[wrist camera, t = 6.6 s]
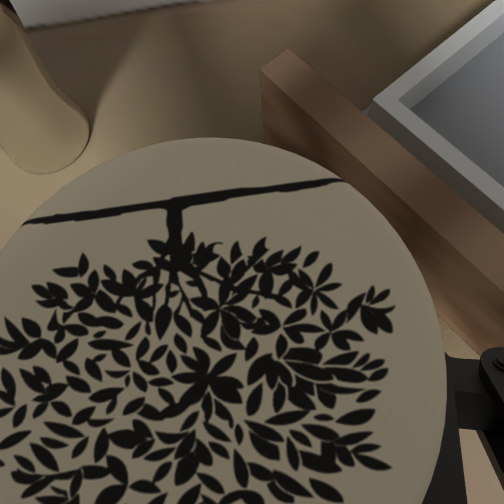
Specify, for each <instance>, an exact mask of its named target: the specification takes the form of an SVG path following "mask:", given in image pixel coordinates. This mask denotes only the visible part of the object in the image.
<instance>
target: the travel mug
mask: <svg viewBox="0 0 504 504" xmlns="http://www.w3.org/2000/svg"><path fill="white" fill-rule="evenodd" d="M446 401H447V373H446V362H445V353H444V344H443V339H442V335H441V330H440V325H439V320H438V317H437V314H436V310H435V307H434V304H433V301H432V298H431V295H430V292H429V290H428V288H427V285H426V283H425V281H424V278H423V276H422V273H421V271H420V270H419V268H418V266H417V264H416V262H415V260H414V258H413V257H412V255H411V253H410V251H409V250H408V248H407V247H406V245H405V244H404V242H403V241H402V239H401V238H400V236H399V235H398V233H397V232H396V231H395V230H394V228H393V227H392V226H391V225H390V223H389V222H388V221H387V220H386V218H385V217H384V216H383V215H382V214H381V213H380V212H379V211H378V210H377V209H376V208H375V207H374V206H373V205H372V204H371V203H370V202H369V201H368V200H367V199H366V198H365V197H364V196H363V195H362V194H360V193H359V192H358V191H357V190H356V189H355V188H353V187H352V186H351V185H350V184H348V183H347V182H345V181H344V180H342V179H341V178H340V177H338V176H337V175H335V174H334V173H332V172H331V171H329V170H327V169H325V168H323V167H322V166H320V165H318V164H316V163H315V162H312V161H310V160H308V159H306V158H304V157H301V156H299V155H297V154H295V153H292V152H289V151H286V150H283V149H280V148H277V147H274V146H270V145H266V144H262V143H258V142H253V141H246V140H240V139H230V138H190V139H180V140H173V141H167V142H162V143H157V144H153V145H149V146H146V147H142V148H139V149H135V150H133V151H130V152H127V153H125V154H122V155H119V156H117V157H114V158H112V159H110V160H108V161H106V162H104V163H102V164H99V165H97V166H96V167H94V168H92V169H90V170H89V171H87V172H85V173H83V174H82V175H80V176H79V177H77V178H76V179H74V180H73V181H71V182H70V183H68V184H67V185H65V186H64V187H62V188H61V189H60V190H59V191H57V192H56V193H55V194H54V195H53V196H51V197H50V198H49V199H48V200H46V201H45V202H44V203H43V204H42V205H41V206H40V207H39V208H38V209H37V210H36V211H35V212H34V213H33V214H32V215H31V216H30V217H29V218H28V219H27V220H26V221H25V222H24V223H23V224H22V226H21V227H20V228H19V229H18V230H17V231H16V232H15V234H14V235H13V236H12V238H11V239H10V240H9V242H8V243H7V244H6V246H5V247H4V248H3V249H2V251H1V253H0V504H422V502H423V499H424V497H425V494H426V492H427V489H428V487H429V484H430V482H431V479H432V476H433V473H434V469H435V466H436V462H437V459H438V455H439V452H440V446H441V441H442V436H443V430H444V425H445V413H446Z"/></svg>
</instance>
